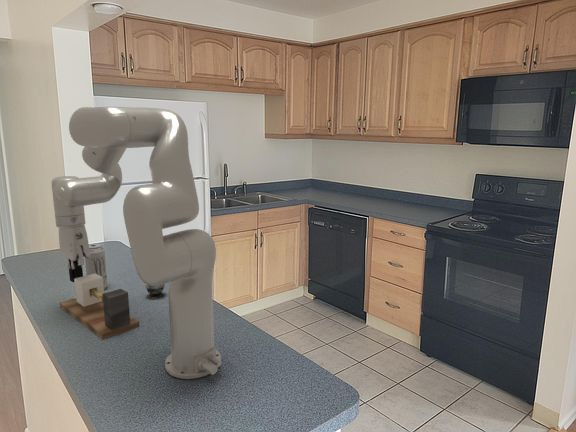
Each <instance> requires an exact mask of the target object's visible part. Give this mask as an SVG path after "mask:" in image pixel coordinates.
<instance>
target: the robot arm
mask: <svg viewBox="0 0 576 432" xmlns="http://www.w3.org/2000/svg"><path fill="white" fill-rule="evenodd" d="M68 131H69V134H70V137H71V140H73V142H74V143H76V145H79V146H81V147H83V148H82V150H81V157H82V160H83V161H84V163H85V164H86V165H87V166H88V168H91V170H94V171H95V172H98V173H101V175H98V176H87V177H78V176H73V175H72V176H71V175H67V176H57V177H55V178H53V179H52V180H51V191H52V201H53V202H52V203H53V210H54V219H55V227H56V228H58V242H59V250H60V254H61V255H62V256H63V257H65V258H66V262H67V267H68V275H69V281H70V282H71V283H75V282H74V279H75V278H79V277H83V276H84V273H83V272H84V270H83V266H85V258H89V257H90V250H89V244H90V243H89V238H88V233H87V229H86V216H85V206H91V205H98V204H103V203H104V204H105V203H108V202H109V201H111V200H112V199H113V198H114V197H116V195H117V193H118V191H119V190H120V188H121V187H122V184H123V172H122V168H121V166H120V164H119V162H120V160H121V158H122V157H123V155H124V154H125V152H126V150H127V149H134V148H136V149H137V148H138V149H139V148H150V147H153V149H152V151H151V154H150V157H149V164H148V166H149V171H150V175H151V180H152V183H147V184H141V185H138V186H134V187H133V188H131V189H129V191H128V192H127V193H126V194H125V197H124V200H123V206H122V207H123V209H122V211H123V215H122V216H123V219H124V224H125V230H126V233H127V238H128V243H129V248H130V250H131V256H132V260H133V265H134V268H135V271H136V273H137V275H138V277H139V279H140V280H141V281H142V282H143V283H144V284H146V285H150V286H159V285H163V284H165V285H166V284H167V283H168V284H169V283H170V284H169V288H168V311H169V312H168V315H169V332H170V346H171V349H170V350H171V353H170V354H169V355H168V356H166V358H165V361H164V369H165V371H166V373H168V374H169V375H170V376H172V377H175V378H177V379H180V380H181V379H182V380H184V379H185V380H193V379H199V378H202V377H206V376H208V375H212V376H213V375H215V374H216V373H217V372H218V369H219V367H221V366H222V364H223V361H222V356H221V353H220V352H219V351H218V350H217V348H216V347H215V335H214V306H213V305H214V304H213V303H214V301H213V297H214V296H213V276H214V269H215V265H216V264H215V263H216V256H217V249H216V244H215V241H214V239H213V237H212V235H210V233H208V232H207V231H205V230H202V229H200V228H199V229H198V228H192V229H191V228H190V229H184V230H180V231H175V232H172V233H169V234H166V235H164V233H163V230H164V229H168V228H172V227H176V226H177V227H178V226H181V225H185V224H188V223H190V222H192V221H194V220H195V219H196V218H197V217H198V215H199V211H200V204H199V199H198V198H199V197H198V192H197V188H196V183H195V179H194V178H195V177H194V174H193V169H192V164H191V160H190V151H189V134H188V130H187V126H186V124H185V121H184V120H183V119H182V117H181V116H180V115H179V114H178V113H177V112H175V111H172V110H170V109H169V110H168V109H165V108H156V107H137V106H136V107H130V106H129V107H128V106H83V107H79V108H77V109H76V110H75V111H74V112H73V113H72V115H71V116H70V119H69V122H68Z"/></svg>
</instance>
